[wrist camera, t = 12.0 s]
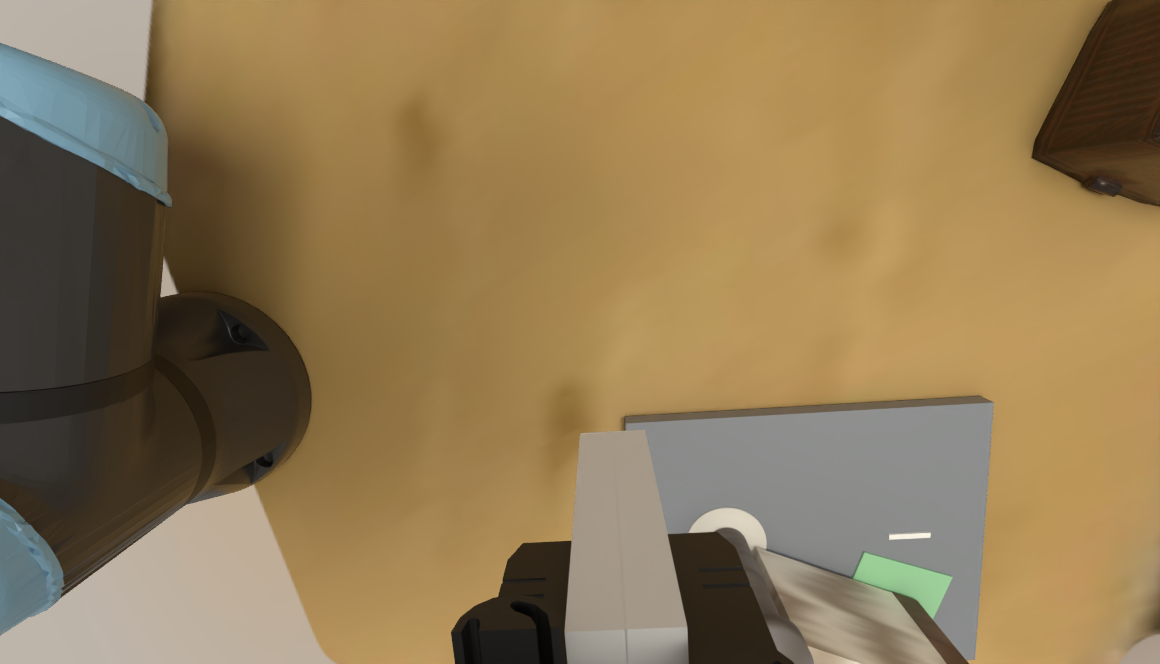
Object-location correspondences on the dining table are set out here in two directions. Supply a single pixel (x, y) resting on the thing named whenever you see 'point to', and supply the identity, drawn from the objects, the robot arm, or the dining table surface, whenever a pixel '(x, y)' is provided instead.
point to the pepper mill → (1111, 107)
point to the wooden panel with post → (838, 615)
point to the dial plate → (842, 491)
